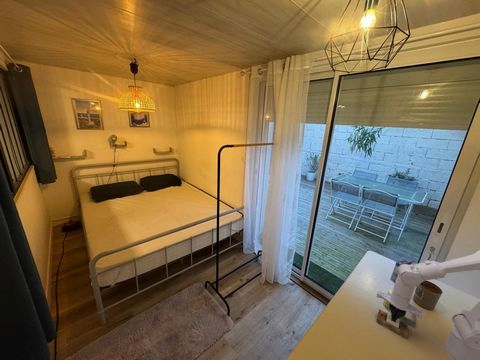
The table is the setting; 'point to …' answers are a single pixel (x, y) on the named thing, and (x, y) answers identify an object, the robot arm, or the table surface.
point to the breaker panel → (402, 325)
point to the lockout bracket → (408, 320)
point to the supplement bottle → (386, 303)
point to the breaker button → (388, 319)
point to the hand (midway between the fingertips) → (393, 319)
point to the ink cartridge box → (395, 271)
